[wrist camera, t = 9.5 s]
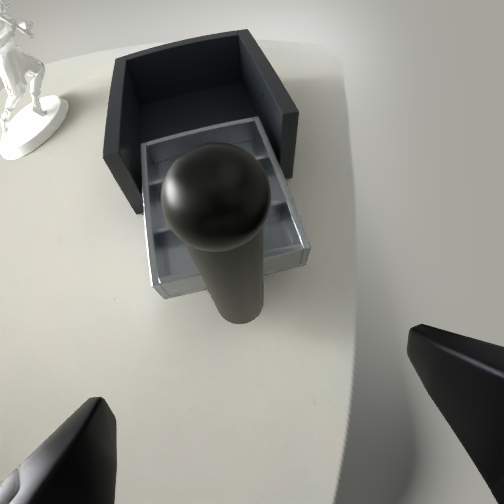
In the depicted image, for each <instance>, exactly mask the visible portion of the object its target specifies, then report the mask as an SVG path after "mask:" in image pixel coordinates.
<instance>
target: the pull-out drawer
mask: <svg viewBox="0 0 504 504" xmlns="http://www.w3.org/2000/svg"><path fill="white" fill-rule="evenodd" d="M140 150H141V174H142V192H143V206H144V219H145V230H146V240H147V250H148V259H149V268H150V276H151V283H152V287H153V288H154V289H155V290H156V291H157V292H158V293H159V294H160V295H161V296H162V297H163V298H164V299H169V298H173V297H177V296H181V295H186V294H190V293H194V292H198V291H203V290H207V289H208V291H209V293H210V295H211V297H212V299H213V301H214V303H215V305H216V307H217V309H218V311H219V313H220V314H221V316H222V317H223V318H224V319H226V320H227V321H229V322H231V323H235V324H244V323H248V322H250V321H252V320H254V319H255V318H256V317H257V316H258V315H259V314H260V312H261V310H262V307H263V279H264V275H268V274H272V273H276V272H280V271H284V270H288V269H292V268H296V267H300V266H304V265H306V263H307V260H308V256H309V253H310V250H311V245H310V243H309V240H308V237H307V235H306V232H305V229H304V227H303V224H302V221H301V219H300V216H299V213H298V211H297V208H296V206H295V203H294V200H293V198H292V195H291V193H290V190H289V188H288V185H287V183H286V180H285V178H284V175H283V173H282V170H281V168H280V165H279V163H278V160H277V158H276V155H275V153H274V151H273V148H272V146H271V143H270V141H269V139H268V136H267V134H266V132H265V129H264V127H263V125H262V122H261V120H260V118H259V116H257V117H251V118H246V119H241V120H236V121H231V122H226V123H221V124H216V125H212V126H207V127H203V128H198V129H194V130H190V131H186V132H182V133H178V134H174V135H170V136H166V137H163V138H159V139H155V140H152V141H148V142H145V143H141V144H140Z"/></svg>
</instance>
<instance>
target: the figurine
mask: <svg viewBox="0 0 504 504" xmlns="http://www.w3.org/2000/svg"><path fill="white" fill-rule="evenodd" d="M8 5H9V3H8V1H7V0H0V76H1V78H2V80H3V82H4V84H5V87H6V90H7V92H8V94H9V97H8V100H7V102H6V103H5V112H4V113H3V114H2V116H1V117H0V121H1V125H2V129H3V135H2V138H1V153H2V156H3V157H4V158H5V159H9V160H12V159H17V158H20V157H23V156H25V155H27V154H29V153H30V152H32V151H33V150H35V149H36V148H38V147H39V146H40V145H42V144H43V143H44V142H45V141H46V140H47V139H49V138H50V137H51V136H52V134H53V133H54V132H55V131H56V130H57V129H58V128H59V126H60V125H61V124H62V122H63V121H64V119H65V117H66V115H67V113H68V109H69V105H68V102H67V101H66V100H65V99H63V98H60V97H57V96H46V97H43V98H40V99H39V95H40V92H41V91H40V88H41V83H42V80H43V77H44V72H45V67H44V65H43V63H41V62H40V61H39V60H38V59H37V58H35V57H33V56H31V55H30V54H28V53H27V52H25V51H23V50H21V49H19V48H18V45H17V44H16V42H15V41H14V40H13V36H14V35H15V34H14V32H15V31H16V28H17V29H18V30H20V31H21V32H23V34H24V35H25V36H28V37H30V38H33V37H34V35H33V34H32V33H31V29H32V24H33V23H32V22H31V21H26V20H20V19H14V18H12V17H10V16H8V15H6V16H5V15H4V12H5V10H6V9H8ZM23 28H25V29H23ZM37 62H40V63H41V64H42V65H41V64H39V63H37ZM26 74H27V75H29V76H31V77H34V78H33V79H32V81H31V91H30V93H31V95H32V97H33V102H32V103H31V104H29V105H28V106H26V107H25V108H24V109H22V110H21V111H20V112H19V113H18V114H17V115H16V116H15V117H14V118H13V119H12V120H11V121H10V123H9V124H8V120H9V118H10V111H11V110H13V109H14V106H15V104H16V103H17V102H18V101H19V100H20V99H21V98H22V96H23V95H24V93H25V87H24V86H26V85H27V83H26V80H25V77H24V76H25V75H26ZM35 74H36V75H35ZM23 84H24V85H23ZM9 90H10V91H11V92H12V95H10V93H9Z"/></svg>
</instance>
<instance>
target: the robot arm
mask: <svg viewBox="0 0 504 504" xmlns="http://www.w3.org/2000/svg"><path fill="white" fill-rule="evenodd" d="M407 354H408V357H409V359H410V361H411V363H412V365H413V366H414V368H415V370H416V372H417V374H418V376H419V377H420V379H421V381H422V383H423V385H424V387H425V388H426V390H427V392H428V394H429V395H430V397H431V398H432V400H433V401H434V403H435V404H436V406H437V407H438V409H439V410H440V412H441V413H442V414H443V416H444V417H445V419H446V420H447V422H448V423H449V425H450V426H451V428H452V429H453V431H454V433H455V434H456V436H457V437H458V439H459V440H460V442H461V443H462V445H463V446H464V448H465V449H466V451H467V453H468V454H469V456H470V457H471V459H472V460H473V462H474V464H475V465H476V467H477V468H478V470H479V472H480V473H481V475H482V477H483V478H484V480H485V482H486V483H487V485H488V487H489V488H490V490H491V492H492V494H493V495H494V497H495V499H496V501H497V502H498V504H504V347H502V346H499V345H495V344H491V343H488V342H484V341H481V340H477V339H473V338H470V337H466V336H462V335H459V334H455V333H452V332H448V331H445V330H441V329H438V328H435V327H431V326H428V325H424V324H420V325H417V326H415V327H412V328H411V329H410V331H409V336H408V345H407ZM116 472H117V444H116V419H115V416H114V414H113V413H112V411H111V409H110V408H109V406H108V404H107V403H106V401H105V399H104V398H102V397H93V398H89V399H88V400H87V401H86V402H85V403H84V404H83V405H82V406H81V407H79V408H78V409H77V410H76V411H75V412H74V413H73V414H72V415H71V416H70V417H69V418H68V419H67V420H66V421H65V422H64V423H63V424H62V425H61V426H60V427H59V428H58V429H57V430H56V431H55V432H54V433H53V434H52V435H51V436H49V437H48V438H47V439H46V440H45V441H44V442H43V443H42V444H41V445H40V446H39V447H38V448H37V449H36V450H35V451H34V452H33V453H32V454H31V455H30V456H29V457H28V458H27V459H26V460H25V461H24V462H23V463H22V464H21V465H20V466H19V467H18V469H15V470H14V471H13V472H12V473H11V474H10V475H9V476H8V477H7V478H6V479H5V480H4V481H3V482H2V483H1V484H0V504H114V501H115V486H116Z"/></svg>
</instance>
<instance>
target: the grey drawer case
mask: <svg viewBox="0 0 504 504" xmlns="http://www.w3.org/2000/svg"><path fill="white" fill-rule="evenodd" d="M257 116H259V118H260V120H261V122H262V125H263V127H264V129H265V132H266V134H267V136H268V139H269V141H270V143H271V146H272V148H273V151H274V153H275V155H276V158H277V160H278V163H279V165H280V168H281V170H282V173H283V175H284V178H285V179H287V178H292V175H293V165H294V155H295V146H296V136H297V126H298V116H299V111H298V109H297V108H296V106H295V104H294V102H293V101H292V99H291V97H290V95H289V94H288V92H287V90H286V89H285V87H284V85H283V84H282V82H281V80H280V79H279V77H278V75H277V74H276V72H275V71H274V69H273V67H272V66H271V64H270V63H269V61H268V59H267V58H266V56H265V55H264V53H263V52H262V50H261V49H260V47H259V45H258V44H257V42H256V41H255V39H254V38H253V37H252V35H251V33H250V32H249V31H248V29H244V30H237V31H229V32H223V33H217V34H212V35H206V36H201V37H196V38H191V39H186V40H182V41H177V42H173V43H169V44H165V45H161V46H157V47H153V48H150V49H146V50H143V51H139V52H136V53H133V54H129V55H126V56H123V57H120V58H117V59H115V65H114V70H113V76H112V82H111V88H110V95H109V102H108V110H107V118H106V127H105V137H104V148H103V159H104V161H105V162H106V164H107V166H108V168H109V169H110V171H111V173H112V174H113V176H114V178H115V180H116V181H117V183H118V185H119V186H120V188H121V190H122V191H123V193H124V195H125V196H126V198H127V200H128V201H129V203H130V205H131V206H132V208H133V210H134V211H135V213H136V214H140V213H144V206H143V192H142V174H141V150H140V144H141V143H145V142H148V141H152V140H155V139H159V138H163V137H166V136H170V135H174V134H178V133H182V132H186V131H190V130H194V129H198V128H203V127H207V126H212V125H216V124H221V123H226V122H231V121H236V120H241V119H246V118H251V117H257Z"/></svg>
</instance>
